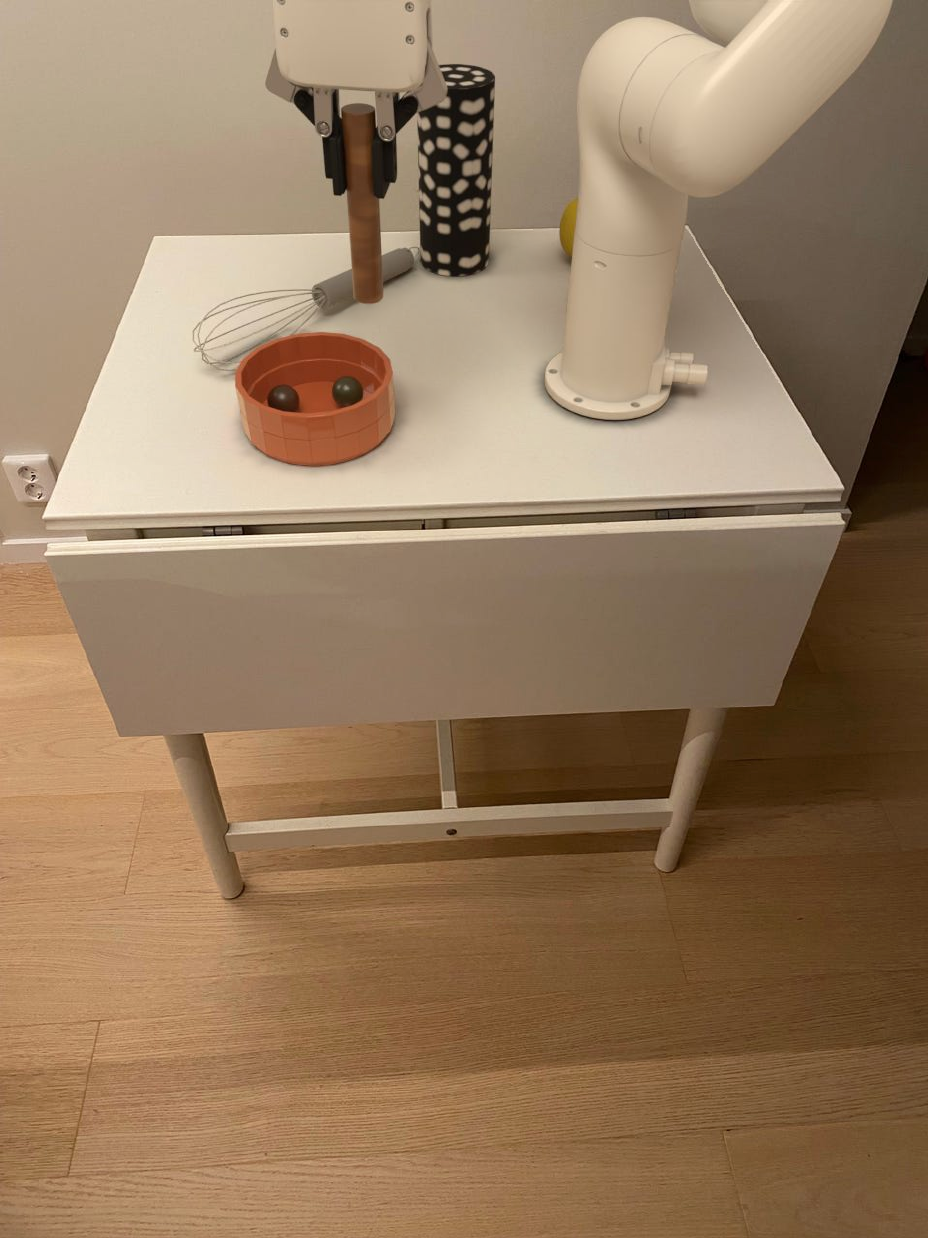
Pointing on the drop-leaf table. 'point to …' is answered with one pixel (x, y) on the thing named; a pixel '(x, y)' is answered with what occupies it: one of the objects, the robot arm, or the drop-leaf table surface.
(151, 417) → the drop-leaf table surface
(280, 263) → the drop-leaf table surface
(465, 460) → the drop-leaf table surface
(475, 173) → the white-spotted black cylinder
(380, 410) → the bowl
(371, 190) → the stirring stick
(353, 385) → the bead
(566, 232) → the lemon
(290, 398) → the bead
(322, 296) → the kitchen whisk
